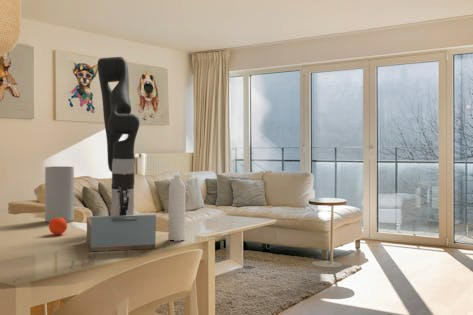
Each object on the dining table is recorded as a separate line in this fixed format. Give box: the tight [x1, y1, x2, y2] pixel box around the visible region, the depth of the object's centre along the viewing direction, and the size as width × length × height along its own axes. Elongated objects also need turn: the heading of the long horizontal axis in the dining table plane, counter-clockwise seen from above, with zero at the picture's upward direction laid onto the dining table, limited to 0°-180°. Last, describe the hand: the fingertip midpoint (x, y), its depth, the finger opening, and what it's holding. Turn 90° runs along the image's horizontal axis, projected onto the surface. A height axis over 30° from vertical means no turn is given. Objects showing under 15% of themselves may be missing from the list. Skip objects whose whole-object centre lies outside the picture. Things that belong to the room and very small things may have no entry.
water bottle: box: [167, 173, 192, 242], centre depth 212 cm, size 9×6×25 cm
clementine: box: [48, 217, 68, 236], centre depth 222 cm, size 8×7×7 cm
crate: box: [86, 216, 156, 253], centre depth 201 cm, size 20×22×9 cm
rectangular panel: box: [90, 214, 157, 247], centre depth 189 cm, size 2×22×10 cm, turn 108°
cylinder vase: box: [44, 165, 75, 224], centre depth 257 cm, size 12×12×25 cm
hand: (122, 222), depth 192 cm, fingers closed
